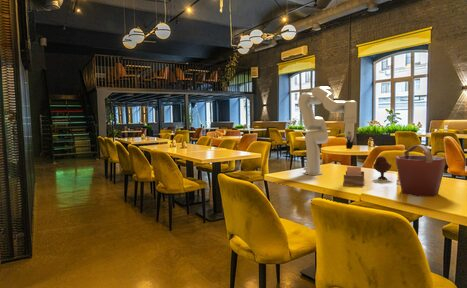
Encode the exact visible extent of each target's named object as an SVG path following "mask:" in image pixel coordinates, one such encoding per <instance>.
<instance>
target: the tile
mask: <svg viewBox="0 0 467 288" xmlns="http://www.w3.org/2000/svg"><path fill="white" fill-rule="evenodd" d="M346 171H347V175H361V171H362V166H350V165H348V166H346Z"/></svg>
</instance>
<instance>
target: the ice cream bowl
mask: <svg viewBox="0 0 467 288" xmlns="http://www.w3.org/2000/svg"><path fill="white" fill-rule="evenodd" d="M373 168H374V170H375V171H377V172H378V173H380V176H378V177H377V180H387V179H388V178H387V177H386V176H385V173H387V172H388V171H389V170H391V168H392V163H391V164H390V163H389V162H388V160H387V158H386V157H385V156H382V155H379V156H377V157H376V158H375V162H374V163H373Z"/></svg>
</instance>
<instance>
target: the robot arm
mask: <svg viewBox="0 0 467 288" xmlns="http://www.w3.org/2000/svg"><path fill="white" fill-rule="evenodd" d="M334 96H335V95H334V94H333V89H332V88H331V87H329V86H315V87H313V89H312V90H311V92H304V93H301V94H300V95H299V97H298V100H297V103H298V107H299V110H300V112H301V115H302V116H301V117H302V120H303V125H304V129H305V130H308V131H307V132H306V133H305V135H304V141H305V146H306V147H305V148H306V167H304V168H303V171H305V172H304V174H305V175H307V174H308V175H309V176H320V175H323V172H322V171H321V150H320V147H319V145H320V144H325V143H327V142H328V140H329V132H328V129H327V124H326V121H325V119H324V118H323V117H322V116H316V115H315V114H314V110H313V109H312V107H311V106H310V105H321V104H322V105H323V108H324V109H325V110H327V111H328V112H330V113H331V114H332V113H333V114H337V113H338V114H339V113H340V114H343V124H344V139H345V140H346V142H345V143H346V144H345V149H346V150H352V148H353V147H354V144H353V143H354V140H353V139H354V135H355V124H356V123H357V112H358V109H357V105H358V102H357V101H356V100H334V99H335V98H334ZM309 130H310V131H309ZM318 144H319V145H318Z"/></svg>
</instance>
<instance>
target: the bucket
mask: <svg viewBox="0 0 467 288" xmlns="http://www.w3.org/2000/svg"><path fill="white" fill-rule="evenodd" d="M417 148H420V149H421V150H422V152H424V153H423V154H424V155H415V154H414V155H413V154H412V155H411V154H410V153H411V152H413V151H415V150H416V149H417ZM395 164H396V170H397V175H398V180H399V185H400V190H401V193H402V194H403V195H408V196H413V197H435V196H436V195H439V192H440V187H441V184H442V183H441V182H442V180H443V175H444V172H445V167H446V157H441V156H436V155H435V156H434V155H433V154H432V151H431V150H430V149H429V148H428V146H426V145H424V144H415V145H411V146H410V147H408V148H407V149H406V150H405V151H404V152H403V155H400V156H399V155H396V156H395Z"/></svg>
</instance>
